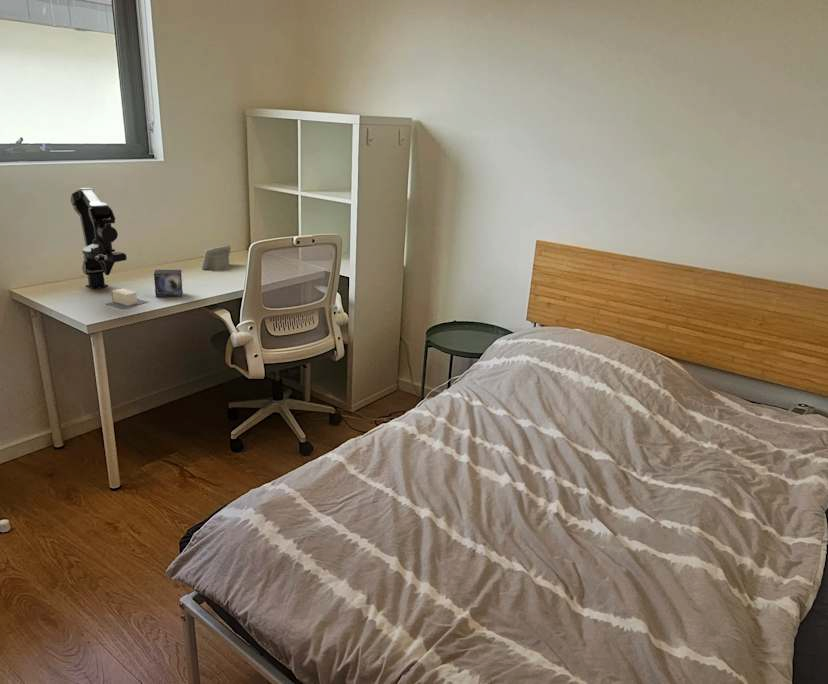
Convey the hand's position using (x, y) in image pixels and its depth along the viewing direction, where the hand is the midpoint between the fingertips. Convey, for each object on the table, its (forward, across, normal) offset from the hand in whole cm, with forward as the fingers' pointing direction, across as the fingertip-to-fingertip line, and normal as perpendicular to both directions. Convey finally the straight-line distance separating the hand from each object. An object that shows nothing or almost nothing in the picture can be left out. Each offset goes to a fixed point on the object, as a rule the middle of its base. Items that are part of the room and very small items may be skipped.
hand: (107, 274), depth 246 cm
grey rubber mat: (+10, +10, 0) cm, 14 cm away
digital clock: (+10, -5, +64) cm, 65 cm away
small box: (+10, +14, +18) cm, 25 cm away
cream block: (+7, +5, 0) cm, 9 cm away
